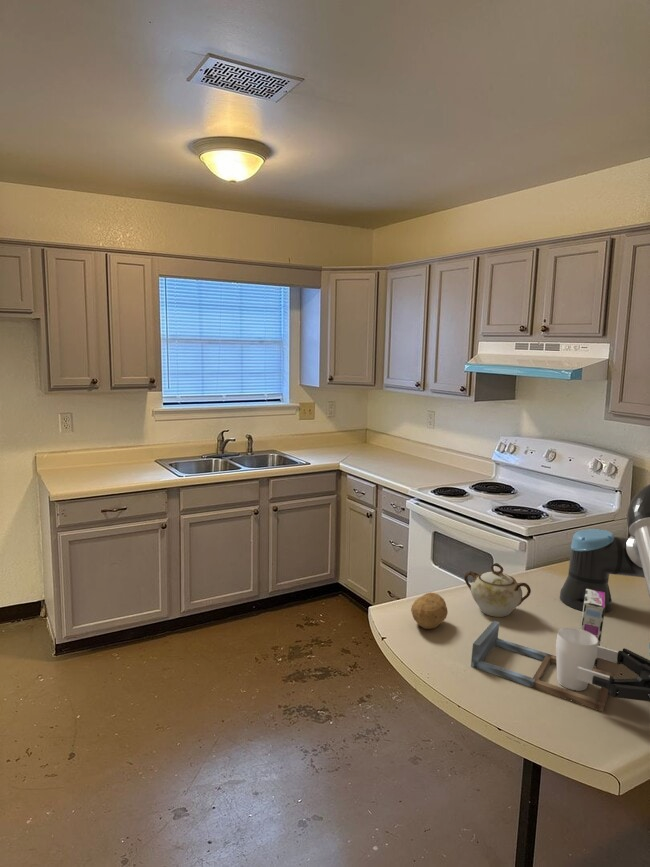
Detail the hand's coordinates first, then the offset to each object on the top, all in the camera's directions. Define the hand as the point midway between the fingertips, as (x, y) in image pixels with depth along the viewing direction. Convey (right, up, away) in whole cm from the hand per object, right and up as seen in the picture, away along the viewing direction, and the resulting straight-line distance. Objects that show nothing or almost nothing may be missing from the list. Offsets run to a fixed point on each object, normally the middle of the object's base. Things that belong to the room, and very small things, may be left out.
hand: (582, 660), depth 138 cm
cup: (-2, -7, +2) cm, 7 cm away
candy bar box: (+8, -5, +16) cm, 18 cm away
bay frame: (-7, -6, +6) cm, 11 cm away
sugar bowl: (-9, -1, +40) cm, 41 cm away
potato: (-31, -1, +29) cm, 42 cm away
